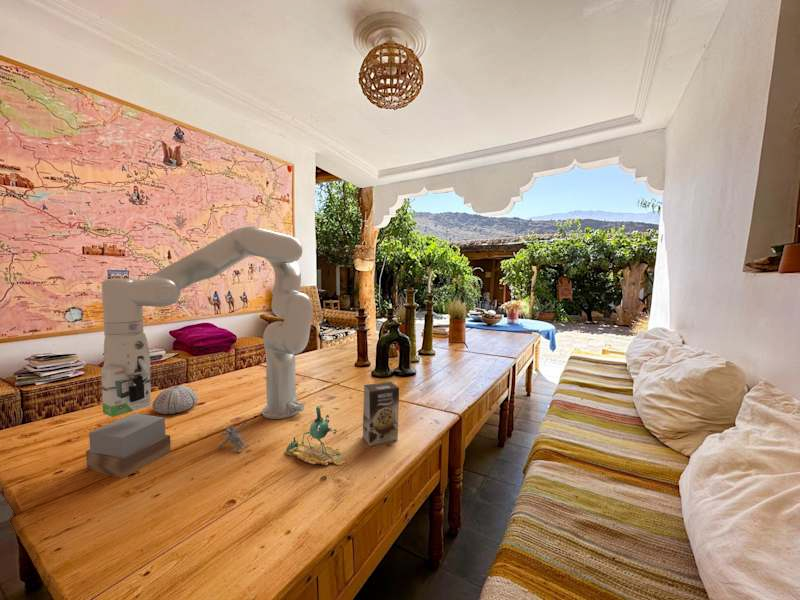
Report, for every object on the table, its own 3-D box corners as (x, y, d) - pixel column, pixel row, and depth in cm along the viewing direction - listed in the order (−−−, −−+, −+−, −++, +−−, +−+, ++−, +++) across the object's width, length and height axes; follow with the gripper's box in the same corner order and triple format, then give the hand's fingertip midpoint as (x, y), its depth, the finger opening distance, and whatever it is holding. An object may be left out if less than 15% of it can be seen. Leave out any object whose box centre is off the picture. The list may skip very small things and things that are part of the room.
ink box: (111, 418, 79) (108, 369, 78) (102, 413, 81) (99, 366, 80) (152, 405, 86) (150, 361, 85) (143, 401, 89) (141, 358, 88)
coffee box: (369, 446, 93) (370, 391, 92) (362, 436, 99) (362, 384, 98) (398, 440, 97) (399, 387, 96) (390, 430, 103) (391, 380, 102)
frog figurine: (301, 440, 97) (305, 392, 95) (353, 462, 90) (359, 410, 88) (276, 456, 88) (281, 403, 86) (332, 481, 81) (339, 425, 79)
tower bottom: (170, 453, 89) (170, 435, 89) (122, 480, 77) (121, 459, 77) (138, 445, 92) (137, 428, 92) (87, 470, 81) (85, 451, 80)
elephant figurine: (222, 460, 86) (209, 440, 90) (234, 465, 90) (221, 446, 94) (251, 432, 89) (237, 414, 94) (261, 438, 93) (247, 421, 98)
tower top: (165, 435, 88) (164, 417, 88) (123, 458, 78) (121, 437, 77) (135, 430, 91) (134, 413, 90) (90, 452, 80) (89, 432, 79)
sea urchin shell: (162, 420, 107) (161, 396, 106) (146, 410, 114) (144, 387, 113) (205, 407, 118) (204, 385, 117) (187, 398, 125) (187, 377, 124)
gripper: (164, 328, 83) (167, 397, 85) (116, 323, 88) (119, 389, 90) (133, 333, 76) (137, 409, 77) (82, 328, 81) (86, 399, 82)
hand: (127, 397), depth 83 cm, fingers closed on ink box, 5 cm apart
